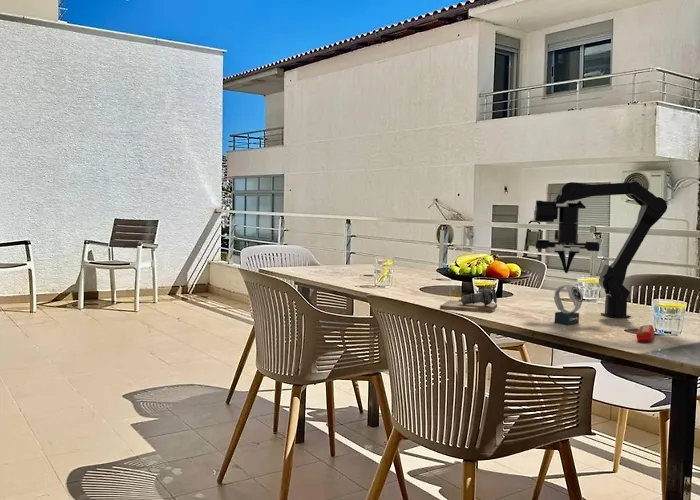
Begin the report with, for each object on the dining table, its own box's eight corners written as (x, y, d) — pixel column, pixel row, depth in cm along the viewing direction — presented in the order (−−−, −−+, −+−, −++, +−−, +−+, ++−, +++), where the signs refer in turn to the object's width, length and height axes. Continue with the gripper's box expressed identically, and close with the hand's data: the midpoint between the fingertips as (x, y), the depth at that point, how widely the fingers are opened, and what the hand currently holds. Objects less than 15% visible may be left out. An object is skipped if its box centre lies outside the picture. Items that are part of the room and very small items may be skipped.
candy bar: (639, 333, 179) (639, 322, 179) (654, 334, 177) (654, 323, 177) (635, 343, 165) (635, 331, 164) (651, 345, 163) (652, 333, 163)
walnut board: (497, 306, 221) (497, 303, 221) (490, 312, 208) (490, 309, 208) (449, 303, 227) (449, 300, 227) (440, 308, 214) (440, 305, 214)
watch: (574, 326, 186) (576, 287, 185) (549, 322, 192) (550, 284, 191) (585, 324, 189) (586, 286, 189) (560, 320, 196) (561, 283, 195)
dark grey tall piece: (492, 285, 212) (455, 291, 216) (495, 304, 211) (458, 309, 215) (494, 286, 217) (458, 292, 221) (497, 304, 216) (461, 309, 220)
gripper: (600, 223, 211) (598, 272, 212) (539, 221, 217) (537, 269, 218) (600, 224, 200) (597, 275, 201) (536, 222, 207) (534, 271, 208)
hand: (566, 272), depth 208 cm, fingers closed
